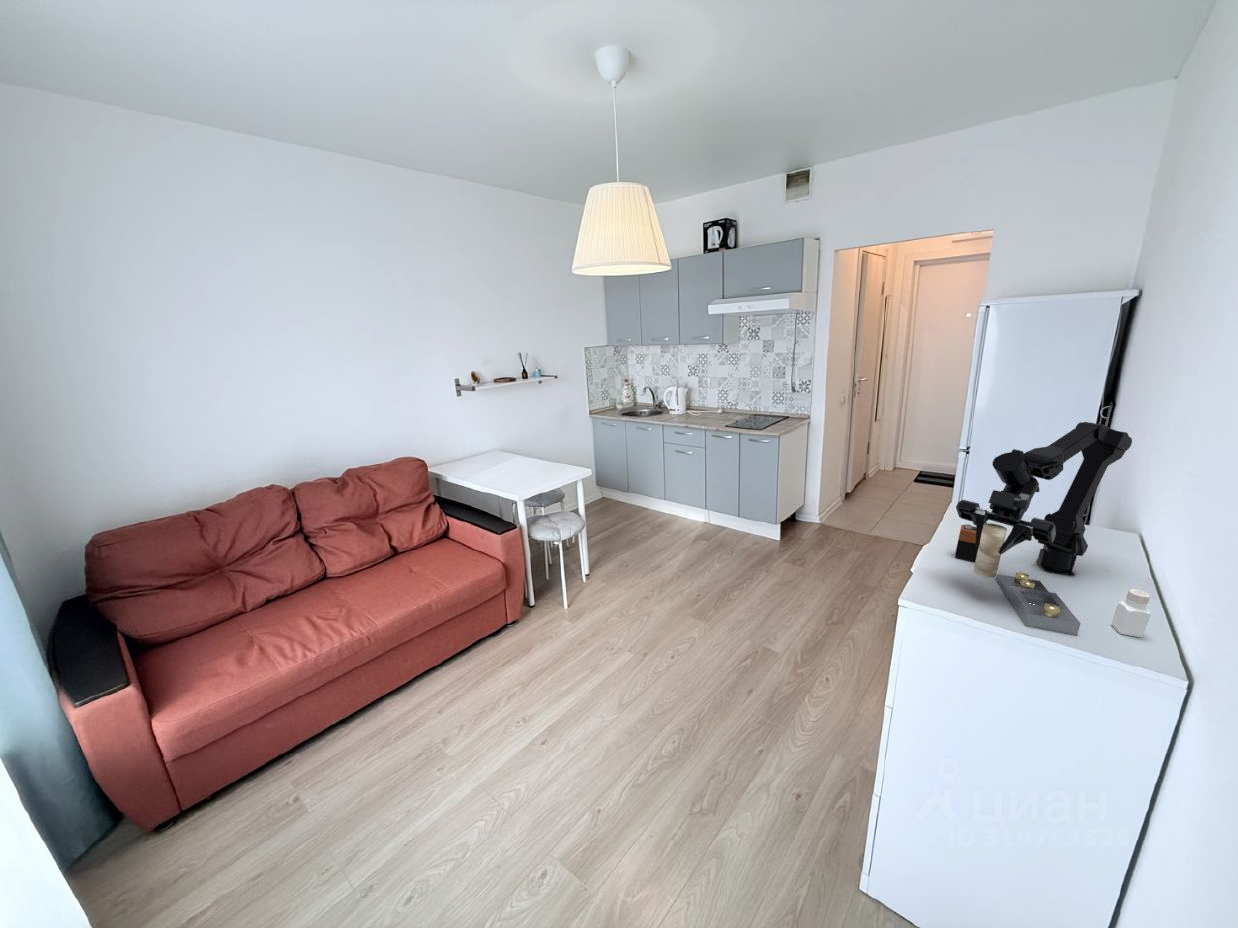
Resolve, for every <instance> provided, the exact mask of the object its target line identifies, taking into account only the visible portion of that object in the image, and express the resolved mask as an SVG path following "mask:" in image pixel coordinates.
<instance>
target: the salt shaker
mask: <svg viewBox="0 0 1238 928" xmlns="http://www.w3.org/2000/svg"><path fill="white" fill-rule="evenodd" d="M1125 598H1126V599H1125V600H1124V601H1123V600H1121V601H1118V603H1117V606H1116V609H1115V611H1114V614H1113V617H1112V620H1111V626H1112V627H1113V628H1114V629H1115V630H1116V631H1117V632H1118V633H1119V634H1121V635H1125V636H1131V637H1136V638H1143V637H1144V635H1145V632H1146V629H1147V627H1148V624H1149V621H1150V618H1151V616H1152V615H1151V613H1152V612H1151V611H1150V610H1149V609H1148V608H1147V605H1149V602H1150V599H1151V595H1150V593H1147V592H1146V591H1142V590H1139V589H1134V588H1133V589H1132V588H1131V589H1128V590H1127V594H1126V597H1125Z"/></svg>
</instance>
